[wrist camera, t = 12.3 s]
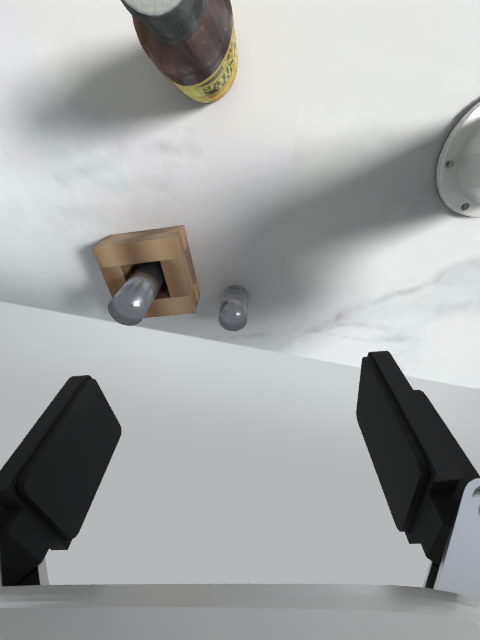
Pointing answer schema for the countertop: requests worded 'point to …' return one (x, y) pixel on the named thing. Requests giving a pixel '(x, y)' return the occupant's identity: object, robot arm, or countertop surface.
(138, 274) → the long pin
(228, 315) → the short pin
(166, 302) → the hole block
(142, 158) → the countertop surface
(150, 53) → the sauce bottle
